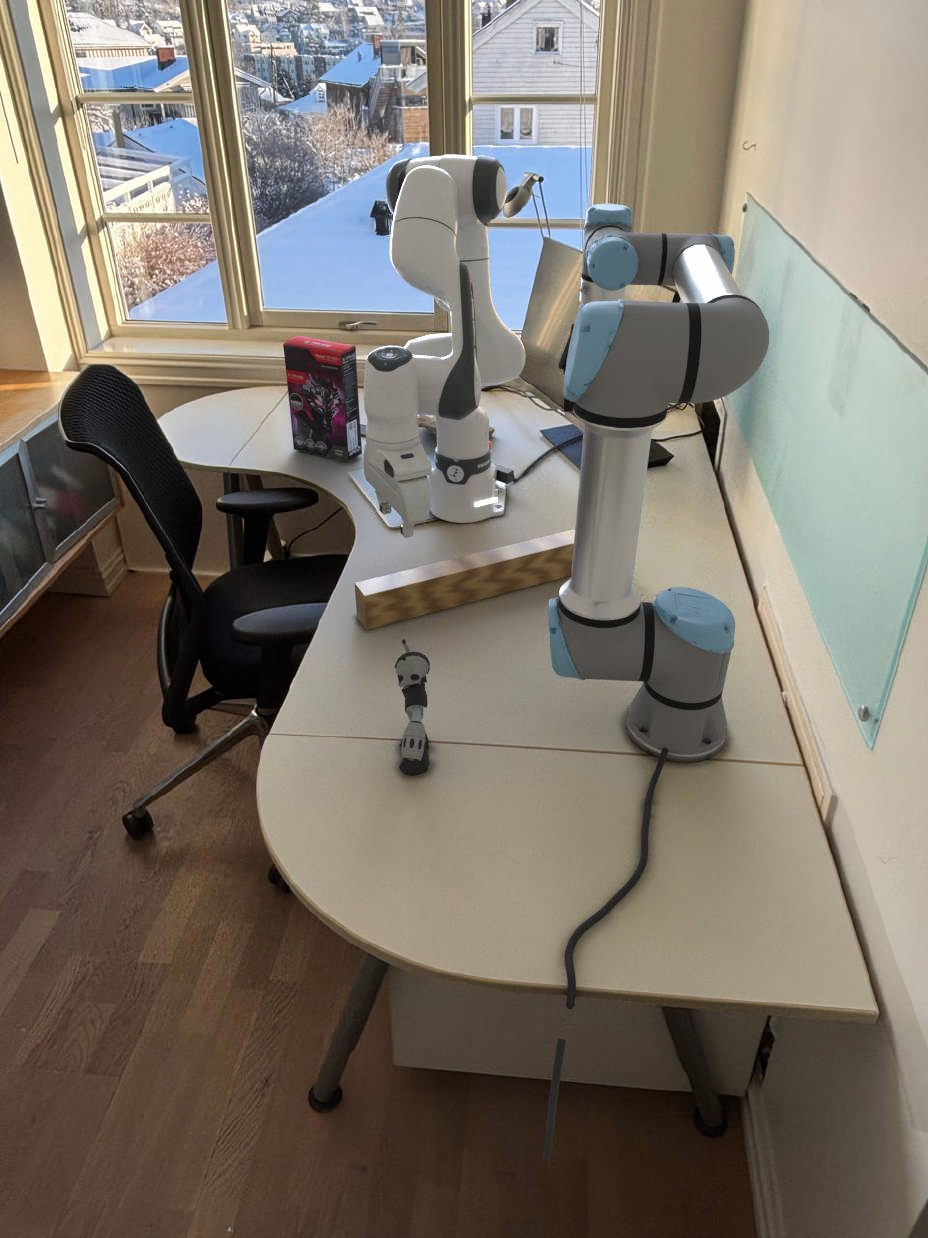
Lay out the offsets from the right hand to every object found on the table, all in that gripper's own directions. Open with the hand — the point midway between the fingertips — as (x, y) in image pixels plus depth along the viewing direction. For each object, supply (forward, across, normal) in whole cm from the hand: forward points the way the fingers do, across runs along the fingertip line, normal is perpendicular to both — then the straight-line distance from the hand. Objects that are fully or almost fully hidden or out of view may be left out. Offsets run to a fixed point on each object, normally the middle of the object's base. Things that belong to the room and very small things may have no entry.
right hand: (590, 423), depth 168 cm
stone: (+30, -68, +5) cm, 75 cm away
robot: (+30, +37, -52) cm, 71 cm away
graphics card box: (+30, -74, -26) cm, 84 cm away
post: (+30, 0, -20) cm, 36 cm away
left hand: (+12, 0, -39) cm, 41 cm away
